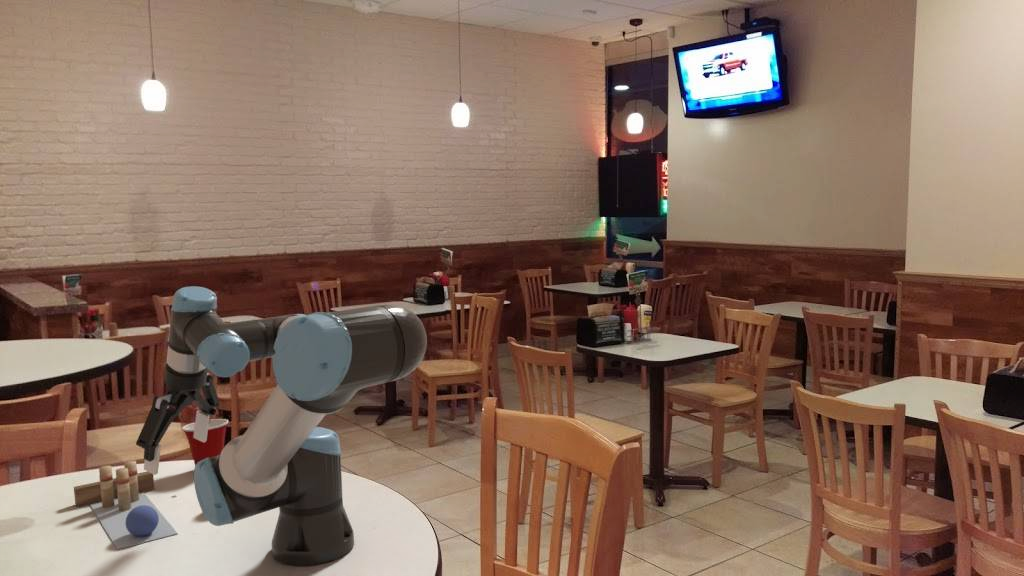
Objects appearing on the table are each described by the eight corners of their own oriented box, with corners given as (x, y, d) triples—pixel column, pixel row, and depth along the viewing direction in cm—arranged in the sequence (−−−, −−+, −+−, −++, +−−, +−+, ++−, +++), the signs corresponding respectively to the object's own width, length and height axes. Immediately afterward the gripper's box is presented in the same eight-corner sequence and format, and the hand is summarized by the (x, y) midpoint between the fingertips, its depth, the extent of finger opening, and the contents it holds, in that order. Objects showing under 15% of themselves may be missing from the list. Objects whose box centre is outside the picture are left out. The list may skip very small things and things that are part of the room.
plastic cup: (215, 459, 202) (212, 414, 201) (240, 467, 196) (237, 420, 195) (176, 471, 194) (172, 424, 192) (201, 480, 187) (198, 431, 186)
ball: (163, 535, 156) (160, 506, 155) (130, 544, 152) (127, 514, 152) (155, 526, 161) (153, 498, 160) (123, 534, 157) (121, 505, 156)
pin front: (132, 510, 170) (129, 469, 169) (120, 513, 168) (116, 472, 167) (130, 506, 172) (127, 467, 171) (117, 509, 170) (114, 469, 169)
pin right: (140, 501, 174) (137, 462, 174) (128, 504, 173) (125, 464, 172) (138, 498, 176) (135, 459, 175) (125, 501, 175) (122, 462, 174)
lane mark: (177, 534, 157) (177, 533, 156) (117, 549, 150) (117, 548, 150) (143, 493, 179) (143, 492, 179) (90, 505, 173) (90, 504, 173)
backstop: (154, 489, 182) (153, 472, 181) (76, 506, 172) (75, 489, 172) (152, 487, 183) (151, 470, 183) (75, 504, 174) (73, 486, 173)
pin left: (115, 507, 172) (112, 467, 171) (103, 510, 170) (100, 470, 169) (113, 503, 173) (110, 464, 172) (101, 506, 172) (97, 467, 171)
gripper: (215, 335, 161) (203, 420, 169) (120, 381, 138) (112, 477, 146) (245, 348, 159) (232, 434, 167) (154, 398, 137) (144, 494, 145)
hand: (176, 454), depth 157 cm, fingers open, 13 cm apart
